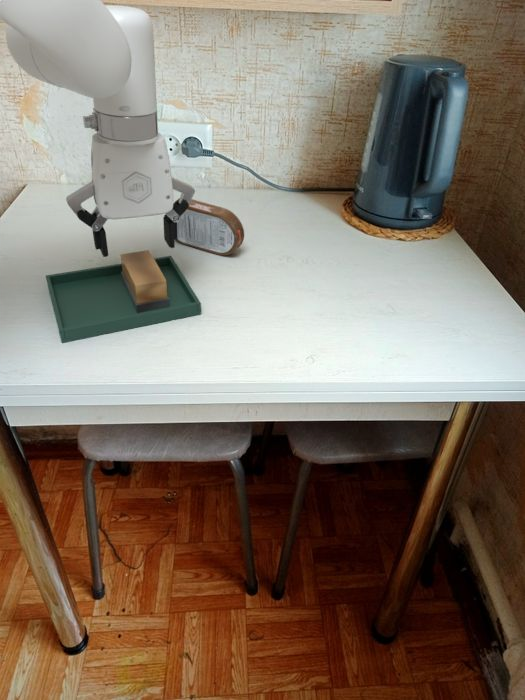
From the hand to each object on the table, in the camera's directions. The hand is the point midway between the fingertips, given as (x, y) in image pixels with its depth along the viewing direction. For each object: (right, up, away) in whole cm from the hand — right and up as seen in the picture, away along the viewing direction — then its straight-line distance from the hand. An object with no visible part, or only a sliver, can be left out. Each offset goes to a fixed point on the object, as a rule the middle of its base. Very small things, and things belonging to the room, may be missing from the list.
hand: (137, 248), depth 74 cm
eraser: (0, -6, +5) cm, 8 cm away
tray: (-3, -7, +5) cm, 9 cm away
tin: (+8, +4, +19) cm, 21 cm away
